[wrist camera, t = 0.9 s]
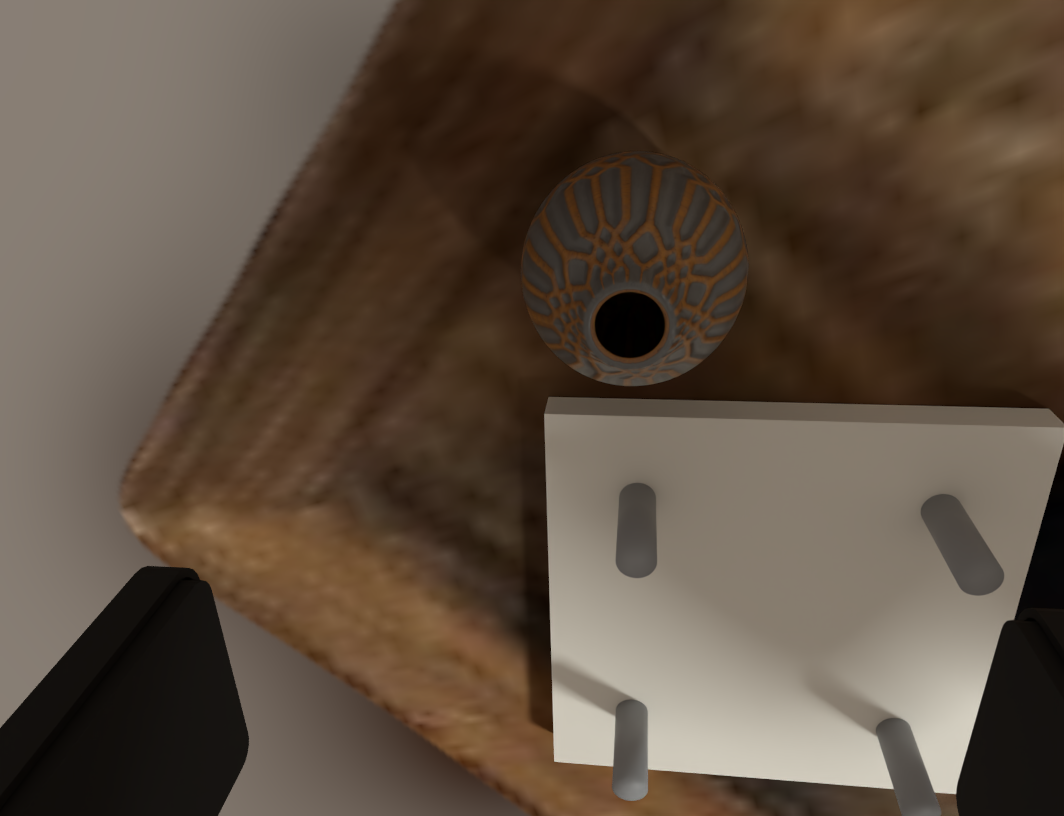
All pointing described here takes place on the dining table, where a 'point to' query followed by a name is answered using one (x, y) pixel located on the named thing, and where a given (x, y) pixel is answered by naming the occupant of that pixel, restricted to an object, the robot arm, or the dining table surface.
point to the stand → (785, 584)
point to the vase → (634, 268)
